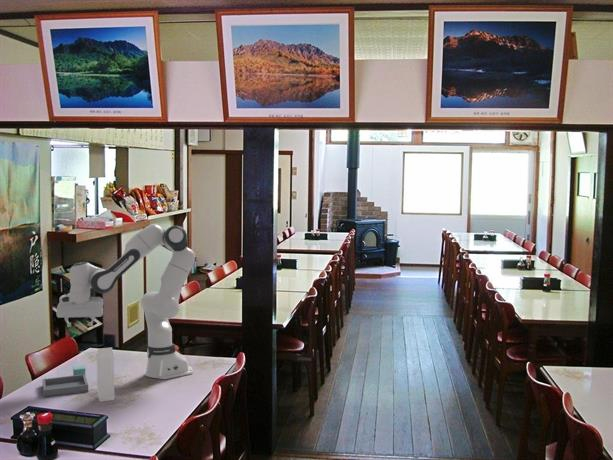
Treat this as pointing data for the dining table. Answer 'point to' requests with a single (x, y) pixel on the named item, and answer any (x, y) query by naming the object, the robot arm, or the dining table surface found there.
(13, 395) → the dining table surface
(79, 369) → the block
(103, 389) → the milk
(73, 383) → the tray
